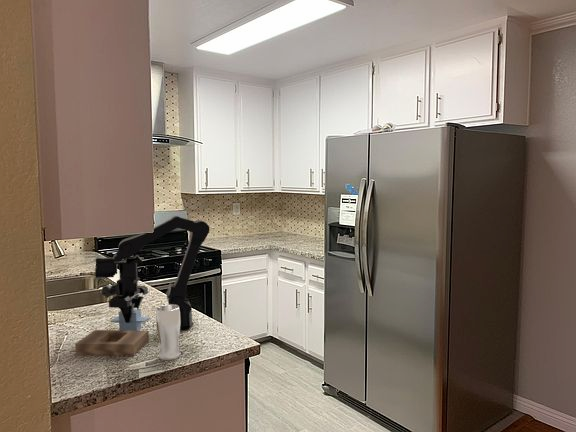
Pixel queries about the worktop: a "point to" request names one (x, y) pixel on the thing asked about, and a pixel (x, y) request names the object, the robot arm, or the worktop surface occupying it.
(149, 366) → the worktop surface
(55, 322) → the worktop surface
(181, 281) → the robot arm
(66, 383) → the worktop surface
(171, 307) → the beer glass
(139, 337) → the plate
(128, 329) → the block
